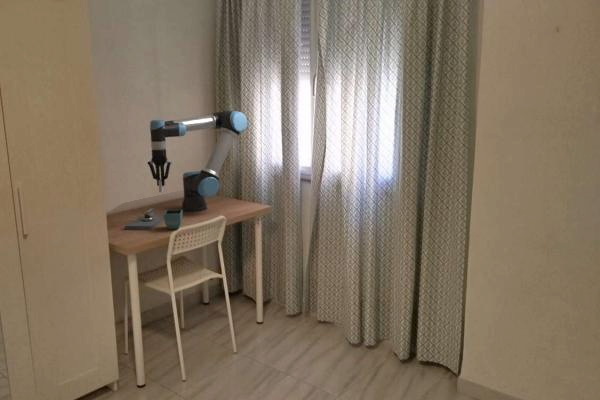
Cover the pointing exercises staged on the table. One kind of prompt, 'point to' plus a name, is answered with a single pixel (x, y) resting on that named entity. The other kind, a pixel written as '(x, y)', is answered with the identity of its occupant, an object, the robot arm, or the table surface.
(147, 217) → the dial lever
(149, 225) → the dial plate
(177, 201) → the table surface
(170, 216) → the flower pot
